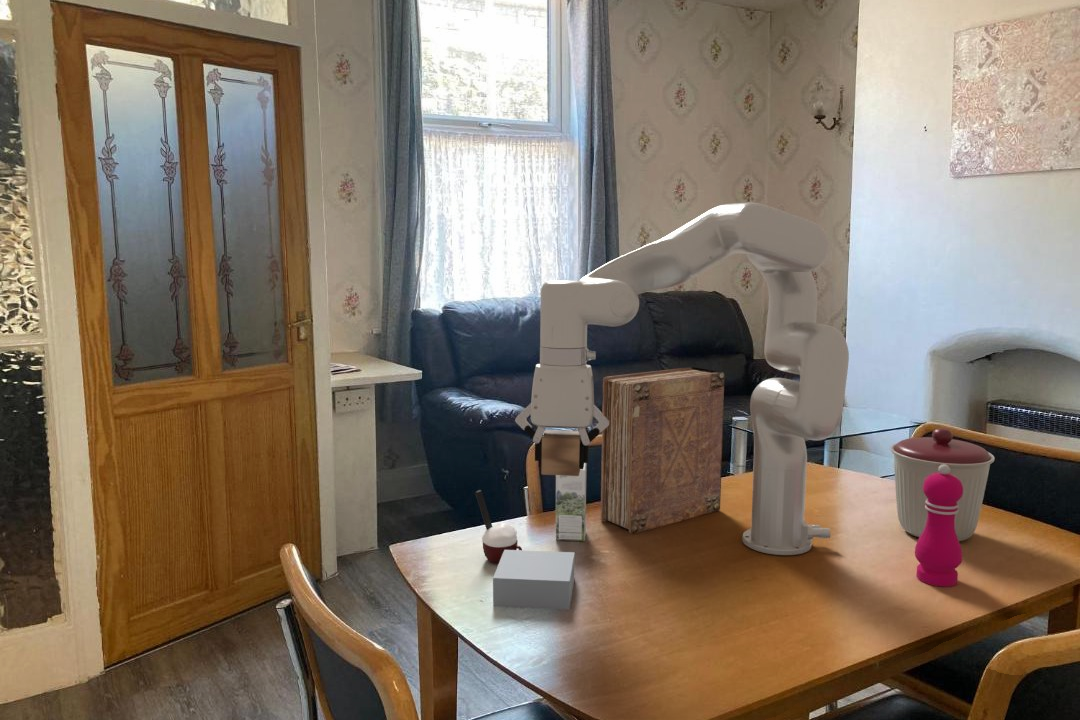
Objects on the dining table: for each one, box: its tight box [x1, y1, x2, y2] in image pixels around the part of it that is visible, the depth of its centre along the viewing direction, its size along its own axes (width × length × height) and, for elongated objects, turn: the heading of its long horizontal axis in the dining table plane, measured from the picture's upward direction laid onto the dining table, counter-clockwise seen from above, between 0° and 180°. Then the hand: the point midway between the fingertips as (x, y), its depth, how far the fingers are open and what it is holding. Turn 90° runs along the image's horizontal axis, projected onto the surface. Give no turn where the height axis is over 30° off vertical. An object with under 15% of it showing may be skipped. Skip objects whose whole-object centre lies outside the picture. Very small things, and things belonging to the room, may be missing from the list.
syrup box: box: [555, 463, 588, 542], centre depth 157 cm, size 6×6×14 cm
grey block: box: [492, 549, 576, 611], centre depth 133 cm, size 12×12×5 cm
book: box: [600, 366, 725, 535], centre depth 168 cm, size 25×9×30 cm, turn 124°
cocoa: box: [475, 489, 523, 565], centre depth 146 cm, size 10×6×12 cm, turn 36°
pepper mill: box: [914, 464, 963, 588], centre depth 136 cm, size 7×7×20 cm
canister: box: [889, 427, 996, 542], centre depth 158 cm, size 18×18×21 cm
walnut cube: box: [541, 429, 581, 476], centre depth 133 cm, size 6×6×6 cm
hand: (561, 465), depth 134 cm, fingers closed on walnut cube, 6 cm apart
